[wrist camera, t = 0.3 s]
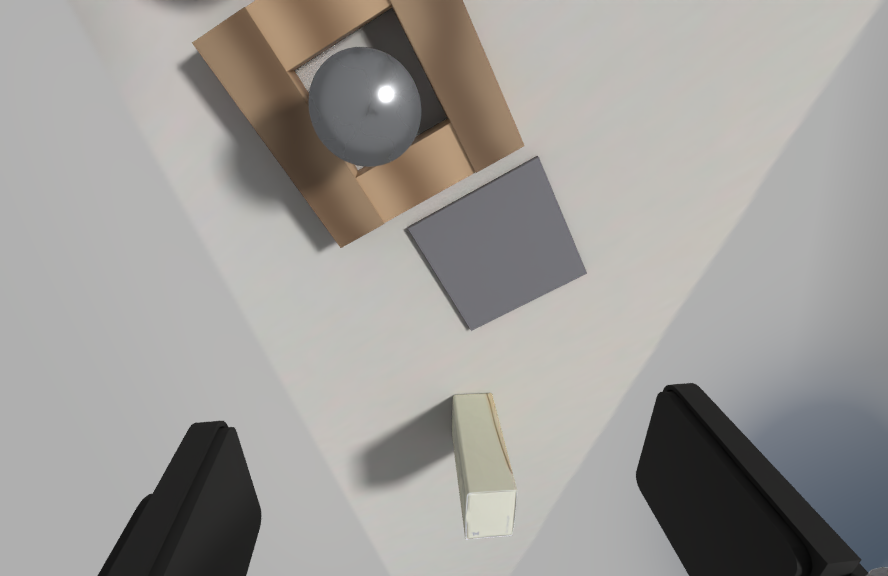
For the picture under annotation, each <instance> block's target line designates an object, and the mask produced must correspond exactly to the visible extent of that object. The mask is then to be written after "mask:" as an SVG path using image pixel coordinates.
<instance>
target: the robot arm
mask: <svg viewBox="0 0 888 576" xmlns="http://www.w3.org/2000/svg"><path fill="white" fill-rule="evenodd" d="M636 480H637V484H638V487H639V489H640V491H641V493H642V494H643V496H644V498H645V500H646V501H647V503H648V505H649V507H650V508H651V510H652V512H653V514H654V515H655V517H656V519H657V520H658V522H659V524H660V526H661V528H662V529H663V531H664V533H665V534H666V536H667V538H668V540H669V541H670V543H671V545H672V547H673V548H674V550H675V552H676V554H677V555H678V557H679V559H680V561H681V562H682V564H683V566H684V568H685V569H686V571H687V573H688V574H689V576H888V568H885V567H882V568H877V569H873V570H871V571H870V572H869V573H868V572H867V571H866V570H865V569H864V568H863V567H862V566H861V564H860V563H859V562H860V561H861V559H860V558H859V557H858V556H857V555H856V554H855V552H854V551H853V550H852V549H851V548H850V547H849V546H848V545H847V544H846V543H845V542H844V541H843V540H842V539H841V538H840V536H839V535H838V534H836V532H835V531H834V530H833V529H832V528H831V527H830V526H829V525H828V524H827V523H826V522H825V520H823V518H822V517H821V516H820V515H819V514H818V513H817V512H816V511H815V510H814V509H813V508H812V507H811V506H810V505H809V503H808V502H807V501H805V499H804V498H803V497H802V496H801V495H800V494H799V493H798V492H797V491H796V490H795V488H794V487H793V486H792V485H791V484H790V483H789V482H788V481H787V480H786V479H785V478H784V477H783V476H782V475H781V474H780V472H779V471H778V470H777V469H776V468H775V467H774V466H773V465H772V464H771V463H770V462H769V461H768V460H767V459H766V458H765V456H763V454H762V453H761V452H760V451H759V450H758V449H757V448H756V447H755V446H754V445H753V444H752V443H751V442H750V440H749V439H748V438H747V437H746V436H745V435H744V434H743V433H742V432H741V431H740V430H739V429H738V428H737V427H736V426H735V424H734V423H733V422H732V421H731V420H730V419H729V418H728V417H727V416H726V415H725V414H724V413H723V412H722V411H721V410H720V408H719V407H718V406H717V405H716V404H715V403H714V402H713V401H712V400H711V399H710V398H709V397H708V396H707V395H706V394H705V393H704V391H703V390H702V389H701V388H700V387H699V386H697V385H696V384H693V383H687V384H674V385H667V386H666V387H665V388H664V390H663V392H660V393H659V394H658V396H657V398H656V402H655V406H654V409H653V413H652V416H651V420H650V424H649V428H648V431H647V435H646V438H645V442H644V446H643V450H642V453H641V456H640V460H639V464H638V467H637V471H636ZM260 525H261V508H260V505H259V502H258V499H257V495H256V492H255V489H254V486H253V483H252V480H251V476H250V473H249V470H248V467H247V463H246V460H245V457H244V454H243V451H242V448H241V445H240V441H239V438H238V435H237V432H236V429H235V428H234V427H228V426H227V424H226V423H225V422H224V421H213V422H201V423H194V424H192V425H191V427H190V428H189V429H188V431H187V433H186V435H185V436H184V438H183V440H182V442H181V444H180V445H179V447H178V449H177V451H176V453H175V454H174V456H173V458H172V460H171V462H170V463H169V465H168V467H167V469H166V471H165V473H164V474H163V476H162V478H161V480H160V481H159V483H158V485H157V487H156V489H155V490H154V492H153V494H149V495H148V496H146V497H145V498H144V499H143V500H142V501H141V502H140V504H139V505H138V507H137V508H136V510H135V512H134V513H133V515H132V517H131V519H130V520H129V522H128V524H127V526H126V527H125V529H124V531H123V533H122V534H121V536H120V538H119V539H118V541H117V543H116V545H115V546H114V548H113V550H112V552H111V553H110V555H109V557H108V559H107V560H106V562H105V564H104V566H103V567H102V569H101V571H100V572H99V574H98V576H246V574H247V571H248V567H249V563H250V560H251V557H252V553H253V550H254V546H255V543H256V539H257V536H258V532H259V529H260Z"/></svg>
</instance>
